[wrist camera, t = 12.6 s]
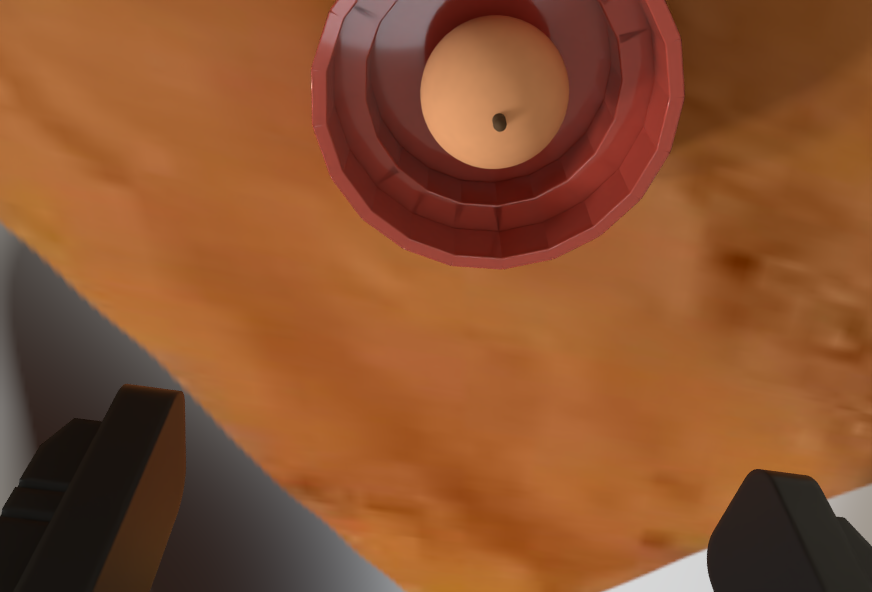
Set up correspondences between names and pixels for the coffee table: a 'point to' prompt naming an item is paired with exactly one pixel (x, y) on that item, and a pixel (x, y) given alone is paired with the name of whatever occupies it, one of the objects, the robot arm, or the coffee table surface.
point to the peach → (494, 92)
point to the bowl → (507, 187)
